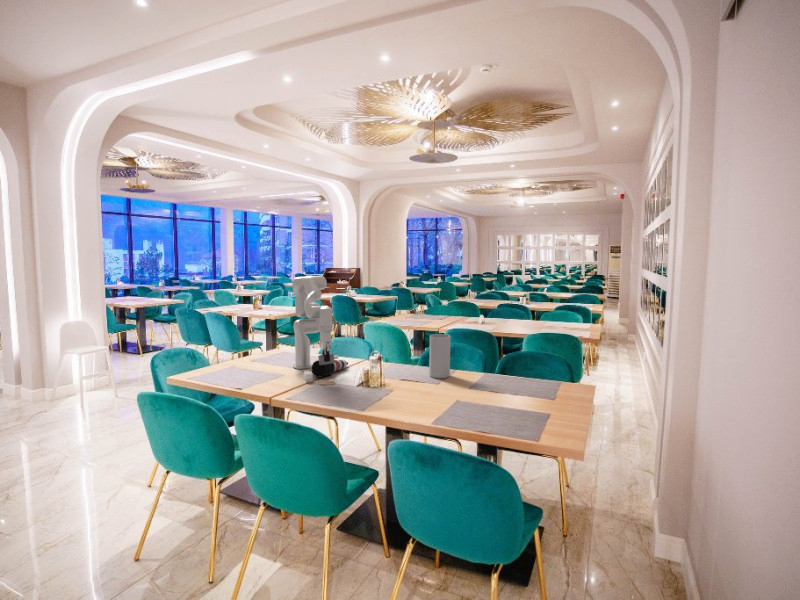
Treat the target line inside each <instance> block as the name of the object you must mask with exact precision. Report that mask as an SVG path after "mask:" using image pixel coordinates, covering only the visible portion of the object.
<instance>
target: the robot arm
mask: <svg viewBox="0 0 800 600" xmlns="http://www.w3.org/2000/svg"><path fill="white" fill-rule="evenodd" d="M327 282H328V281H327V279H326V277H325V276H323V275H309V276H297V277H294V278H293V279H292V290H293V292H294V296H295V297H294V298H295V300H294V301H295V315H296V317H298V318H299V319H296V320H295V321H294V322H293V325H292V326H293V331H294V347H295V348H294V349H295V350H294V353H295V356H294V357H295V358H294V360H295V364H293V365H292V368H293V369H297V370H303V369H304V370H305V369H307V370H308V369H312V365H313V363H311V340H310V338H309V336H307V335H308V334H316V333H320V335H319V348H320V349H322V354H321V355H323V354H325V355H324V361H325V362H328V361H330V353H331V350H332V332H333V329H334V327H333V308H332V307H330V306H329V305H320V304H319V303H318V302H317V301H319V300H320V299H321V298H322V290H325V289H326V288H327ZM300 318H301V319H300Z"/></svg>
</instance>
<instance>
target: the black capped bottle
mask: <svg viewBox="0 0 800 600" xmlns="http://www.w3.org/2000/svg"><path fill="white" fill-rule="evenodd" d="M334 362H335V363H330V364H325V365H319V359H318V360H315V361H313V363H312V367H311V372H312V373H313V376H315V377H316V378H322V377H327V376H331V375H332V374H333V373H334V372H337V371H340V370H343V369H346V368H347V366H348V365H349V362H348V361H347V360H345V359H334Z"/></svg>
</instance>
